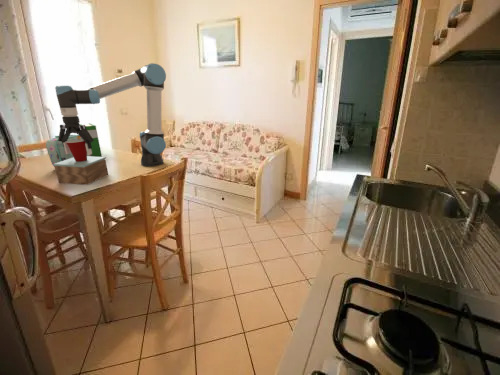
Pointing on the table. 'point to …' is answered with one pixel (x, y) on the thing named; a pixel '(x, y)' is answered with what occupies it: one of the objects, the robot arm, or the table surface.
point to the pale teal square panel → (73, 163)
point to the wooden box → (82, 173)
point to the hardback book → (95, 144)
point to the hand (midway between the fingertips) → (79, 154)
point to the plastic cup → (78, 149)
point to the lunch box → (59, 149)
